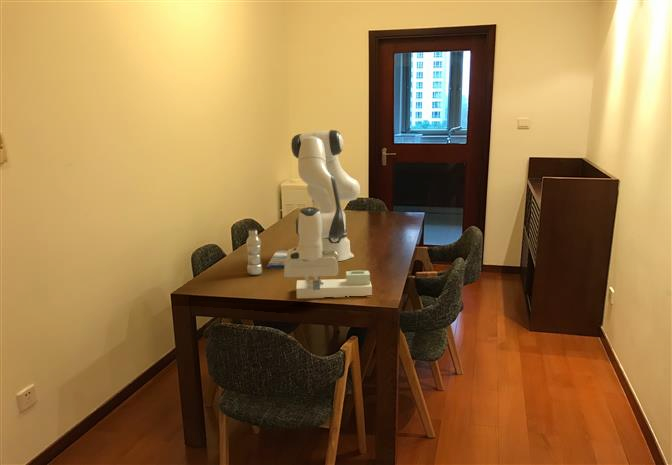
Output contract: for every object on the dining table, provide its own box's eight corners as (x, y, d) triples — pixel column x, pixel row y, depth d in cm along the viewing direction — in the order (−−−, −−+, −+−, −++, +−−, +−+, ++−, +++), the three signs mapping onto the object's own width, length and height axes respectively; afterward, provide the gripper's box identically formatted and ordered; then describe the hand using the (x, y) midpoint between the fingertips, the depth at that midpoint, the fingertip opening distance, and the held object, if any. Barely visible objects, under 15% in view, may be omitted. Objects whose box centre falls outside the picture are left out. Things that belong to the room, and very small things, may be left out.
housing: (297, 289, 216) (296, 280, 215) (369, 287, 217) (369, 278, 216) (296, 298, 206) (296, 288, 205) (371, 296, 207) (371, 286, 206)
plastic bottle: (255, 271, 241) (253, 227, 236) (265, 273, 237) (263, 229, 232) (244, 274, 236) (241, 230, 231) (254, 277, 232) (252, 232, 227)
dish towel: (309, 255, 267) (309, 250, 266) (303, 269, 244) (303, 263, 243) (274, 255, 268) (274, 249, 267) (265, 269, 245) (265, 263, 244)
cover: (346, 280, 213) (345, 269, 212) (368, 280, 214) (368, 268, 213) (346, 285, 208) (346, 273, 207) (369, 284, 209) (369, 272, 208)
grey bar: (312, 291, 201) (312, 282, 200) (313, 275, 220) (313, 266, 219) (320, 291, 201) (320, 282, 200) (321, 274, 220) (320, 266, 219)
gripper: (338, 248, 202) (338, 283, 206) (283, 250, 201) (284, 285, 204) (339, 253, 196) (339, 289, 200) (283, 255, 195) (284, 291, 198)
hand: (311, 287), depth 202 cm, fingers closed
